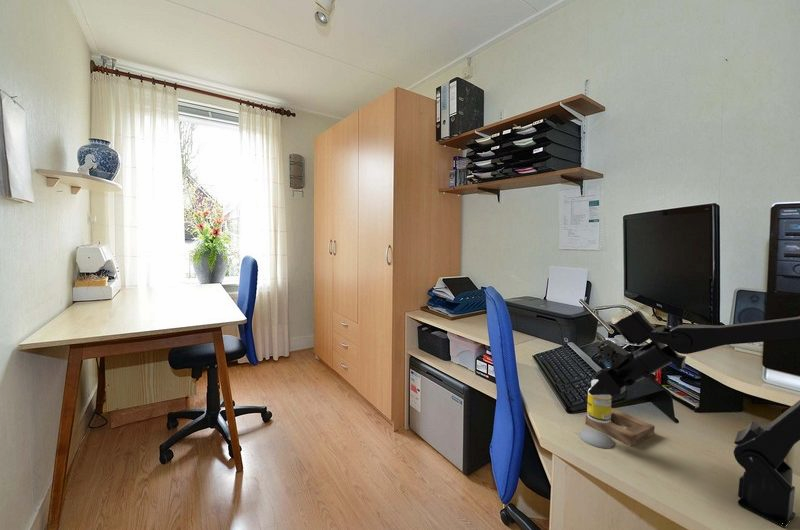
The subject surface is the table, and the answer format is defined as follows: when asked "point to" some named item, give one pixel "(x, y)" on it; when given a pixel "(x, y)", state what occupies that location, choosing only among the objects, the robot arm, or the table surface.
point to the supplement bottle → (599, 406)
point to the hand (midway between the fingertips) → (594, 390)
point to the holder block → (629, 436)
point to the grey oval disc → (596, 438)
